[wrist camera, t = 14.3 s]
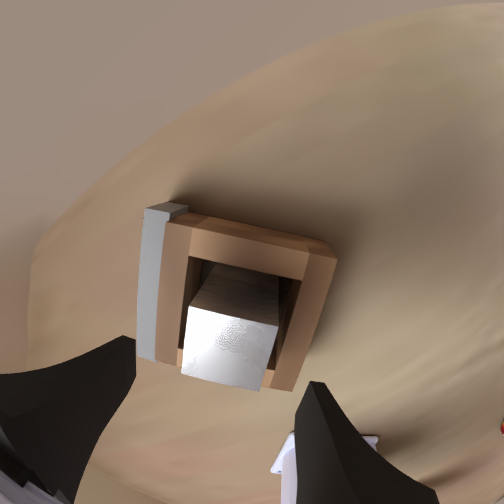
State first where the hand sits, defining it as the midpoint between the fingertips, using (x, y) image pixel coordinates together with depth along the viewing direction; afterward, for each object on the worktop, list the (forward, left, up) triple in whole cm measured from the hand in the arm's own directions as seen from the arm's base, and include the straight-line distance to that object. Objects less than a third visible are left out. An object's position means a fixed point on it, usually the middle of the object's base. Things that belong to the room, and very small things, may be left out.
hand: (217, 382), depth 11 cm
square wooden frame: (0, 0, -9) cm, 9 cm away
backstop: (+5, 0, -9) cm, 11 cm away
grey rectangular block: (0, 0, -9) cm, 9 cm away
